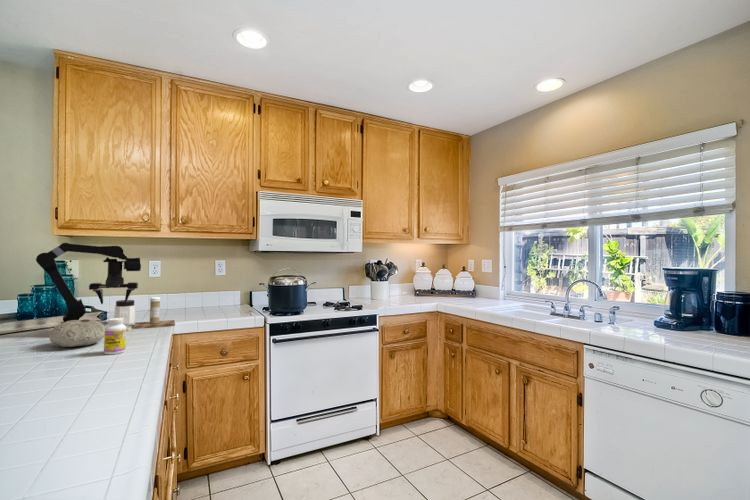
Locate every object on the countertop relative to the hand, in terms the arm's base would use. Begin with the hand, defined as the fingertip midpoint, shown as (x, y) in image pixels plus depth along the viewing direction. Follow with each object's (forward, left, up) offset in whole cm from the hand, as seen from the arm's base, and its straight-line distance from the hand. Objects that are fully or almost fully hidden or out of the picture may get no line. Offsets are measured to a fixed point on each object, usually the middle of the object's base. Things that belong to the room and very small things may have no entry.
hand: (113, 303), depth 172 cm
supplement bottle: (-32, -33, -13) cm, 48 cm away
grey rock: (-26, -10, -13) cm, 31 cm away
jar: (+17, +10, -13) cm, 24 cm away
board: (+16, -9, -13) cm, 23 cm away
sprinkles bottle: (+16, -9, -12) cm, 22 cm away
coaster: (0, -3, -13) cm, 13 cm away
